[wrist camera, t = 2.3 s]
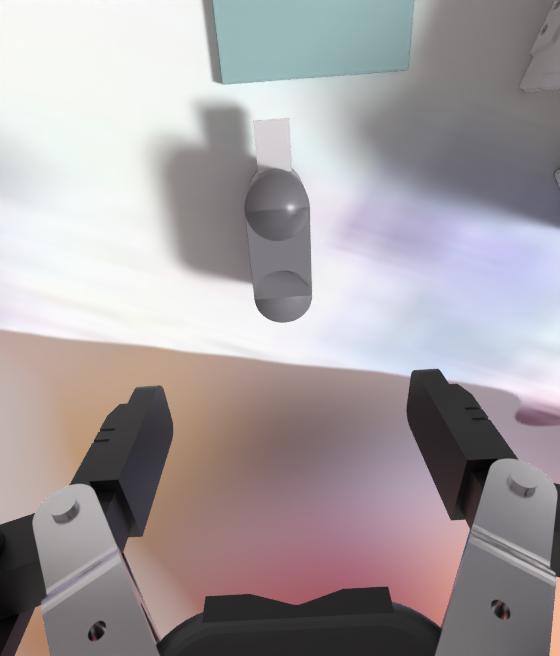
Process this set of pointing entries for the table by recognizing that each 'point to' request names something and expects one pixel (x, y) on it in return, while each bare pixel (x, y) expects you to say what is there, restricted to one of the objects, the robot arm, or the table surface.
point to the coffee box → (557, 176)
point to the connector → (278, 227)
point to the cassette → (545, 55)
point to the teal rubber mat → (311, 38)
